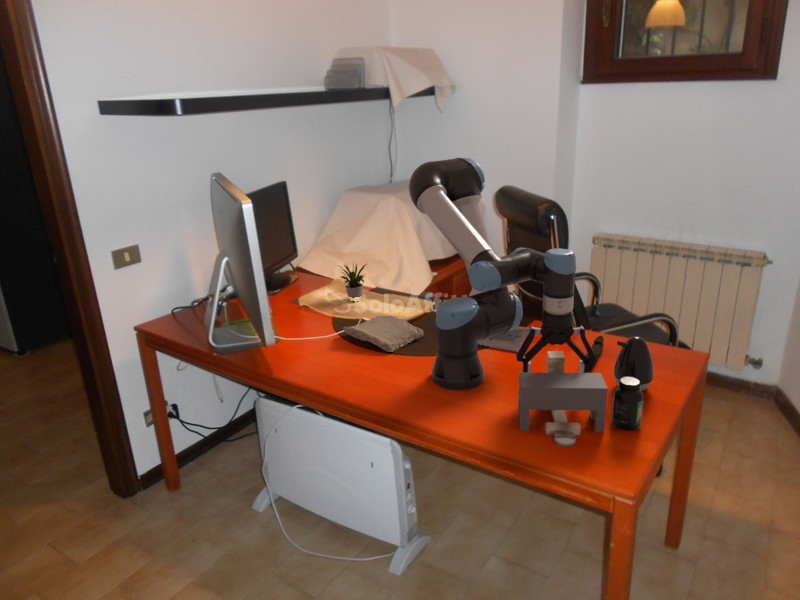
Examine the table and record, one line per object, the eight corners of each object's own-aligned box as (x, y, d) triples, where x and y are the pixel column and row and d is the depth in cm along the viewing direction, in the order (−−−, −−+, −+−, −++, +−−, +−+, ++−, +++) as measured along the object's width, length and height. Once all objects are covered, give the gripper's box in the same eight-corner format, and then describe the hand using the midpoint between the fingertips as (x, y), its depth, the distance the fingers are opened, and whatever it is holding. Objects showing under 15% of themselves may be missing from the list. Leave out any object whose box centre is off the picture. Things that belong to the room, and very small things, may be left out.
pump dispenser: (605, 380, 170) (609, 331, 165) (641, 377, 170) (646, 328, 165) (621, 398, 160) (625, 346, 155) (658, 394, 161) (664, 343, 156)
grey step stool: (520, 430, 148) (521, 387, 144) (518, 414, 155) (519, 372, 151) (604, 432, 145) (607, 388, 141) (597, 415, 153) (600, 373, 149)
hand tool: (592, 372, 175) (593, 358, 174) (579, 369, 177) (580, 355, 176) (610, 348, 190) (611, 335, 188) (597, 346, 192) (598, 333, 191)
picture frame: (457, 343, 201) (519, 353, 190) (456, 336, 200) (519, 346, 190) (475, 325, 214) (534, 334, 204) (475, 319, 213) (535, 328, 203)
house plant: (330, 306, 239) (326, 266, 233) (339, 294, 251) (336, 257, 246) (365, 306, 236) (362, 266, 231) (372, 294, 249) (370, 257, 244)
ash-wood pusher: (546, 434, 146) (548, 385, 141) (537, 395, 164) (539, 350, 159) (580, 435, 145) (583, 385, 140) (567, 395, 163) (570, 350, 158)
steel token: (556, 447, 141) (556, 442, 140) (552, 436, 145) (552, 430, 145) (578, 447, 140) (578, 441, 140) (573, 435, 145) (573, 430, 145)
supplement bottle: (645, 430, 145) (650, 386, 141) (618, 432, 145) (622, 388, 141) (632, 415, 152) (636, 373, 148) (606, 418, 151) (610, 375, 147)
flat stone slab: (383, 360, 192) (427, 336, 203) (380, 339, 189) (424, 316, 201) (338, 342, 209) (380, 321, 221) (334, 323, 206) (377, 302, 218)
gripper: (509, 315, 150) (507, 390, 157) (611, 315, 147) (605, 391, 154) (507, 305, 157) (506, 377, 164) (605, 304, 154) (599, 378, 161)
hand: (554, 384), depth 159 cm, fingers open, 13 cm apart
